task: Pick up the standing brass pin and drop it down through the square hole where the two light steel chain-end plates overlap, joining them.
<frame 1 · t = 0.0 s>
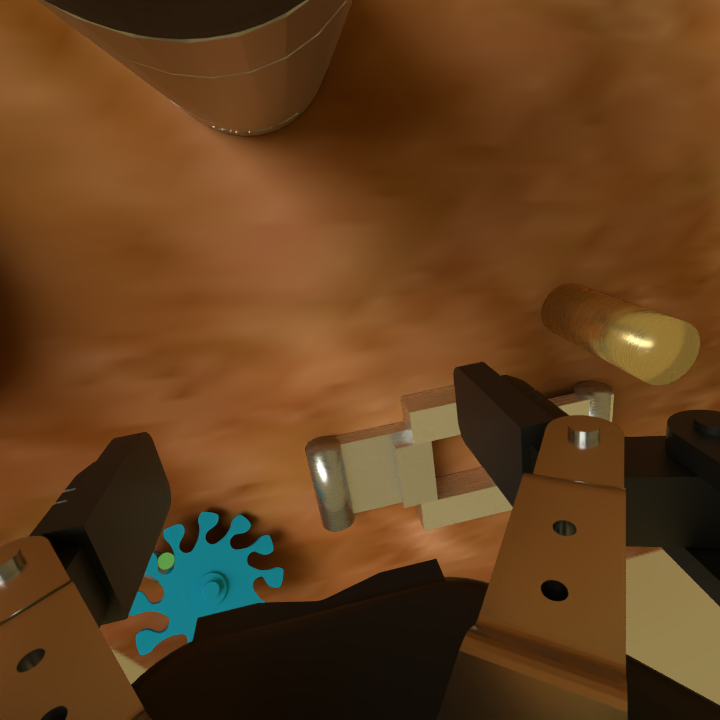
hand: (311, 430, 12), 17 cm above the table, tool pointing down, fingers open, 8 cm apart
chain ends: (456, 445, 34), on the table
gear: (210, 543, 34), on the table
pin: (565, 309, 31), on the table
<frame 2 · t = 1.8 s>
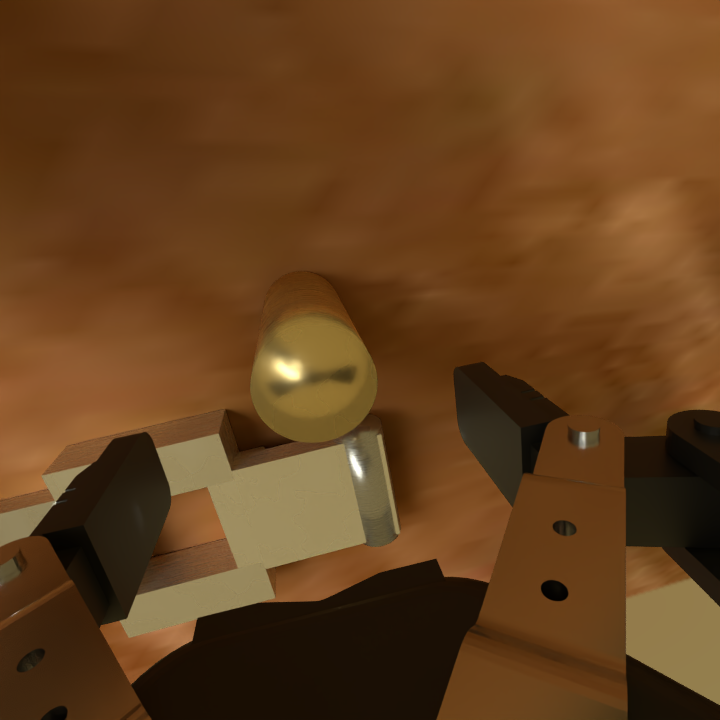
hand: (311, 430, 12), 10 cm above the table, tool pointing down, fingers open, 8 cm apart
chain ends: (181, 509, 23), on the table
pin: (302, 309, 21), on the table
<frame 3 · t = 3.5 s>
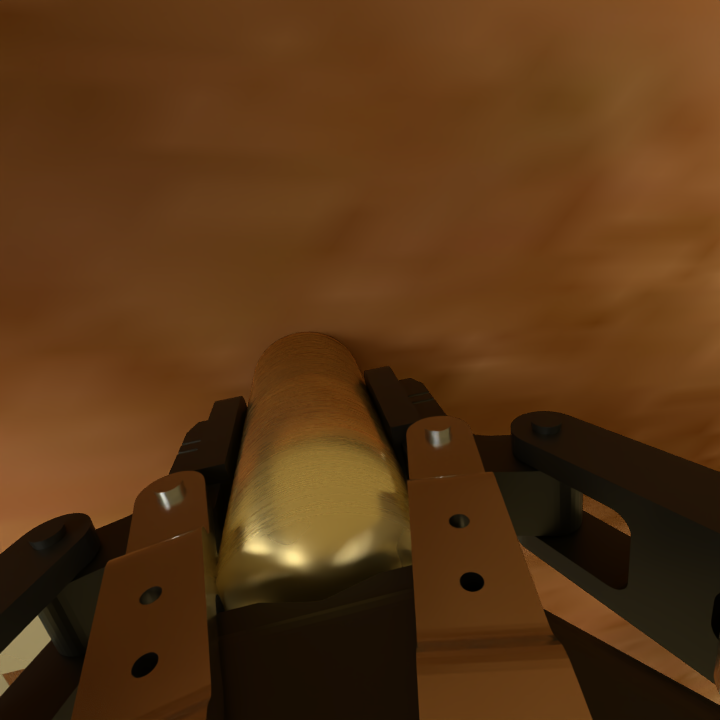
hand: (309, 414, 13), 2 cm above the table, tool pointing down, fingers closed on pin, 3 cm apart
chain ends: (135, 640, 17), on the table
pin: (307, 382, 15), on the table, touching gripper
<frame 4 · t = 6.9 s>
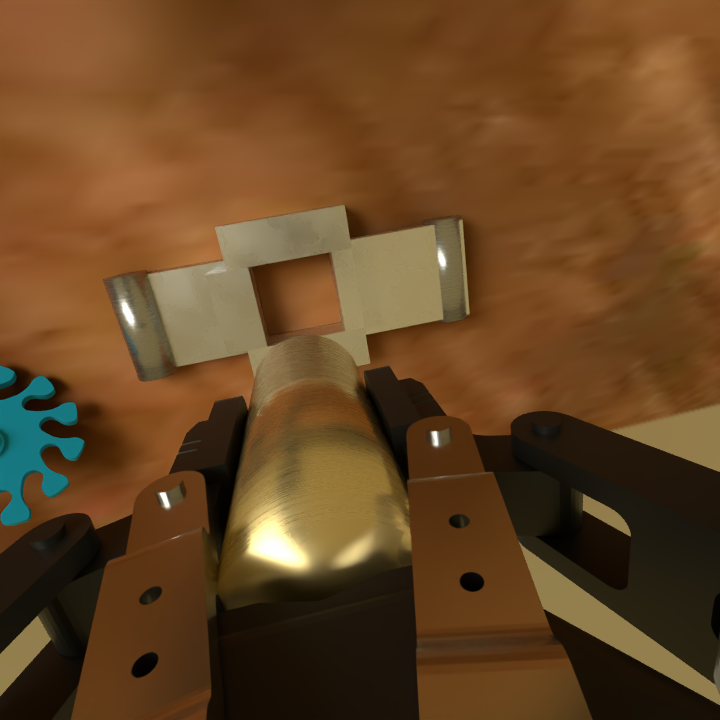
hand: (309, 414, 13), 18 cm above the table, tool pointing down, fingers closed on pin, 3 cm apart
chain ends: (297, 293, 30), on the table
gear: (13, 413, 30), on the table
pin: (308, 385, 15), point 16 cm above the table, touching gripper
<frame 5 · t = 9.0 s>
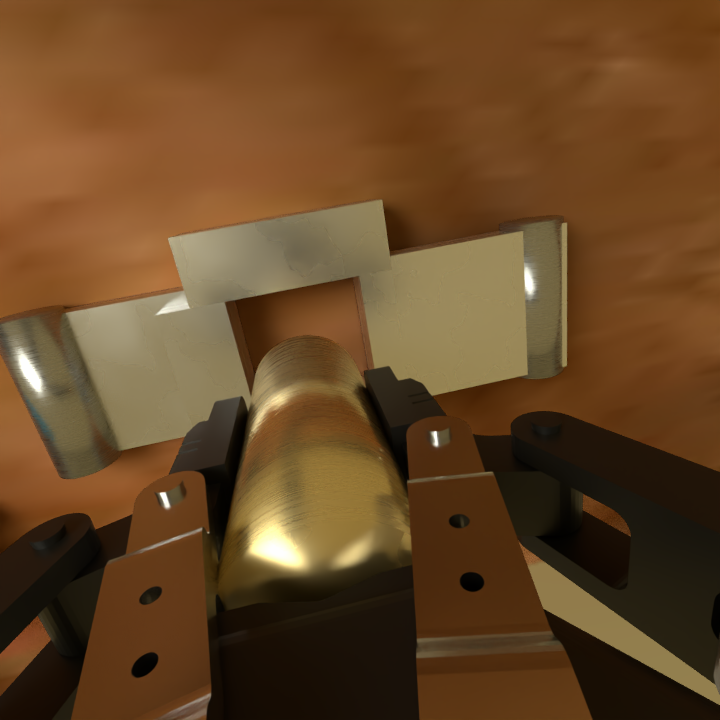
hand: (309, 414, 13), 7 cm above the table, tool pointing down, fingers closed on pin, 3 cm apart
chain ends: (304, 334, 20), on the table
pin: (308, 385, 15), point 5 cm above the table, touching gripper
when the fingers open (5 cm above the table, at t = 10.5 s): pin drops 3 cm, resting in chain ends.
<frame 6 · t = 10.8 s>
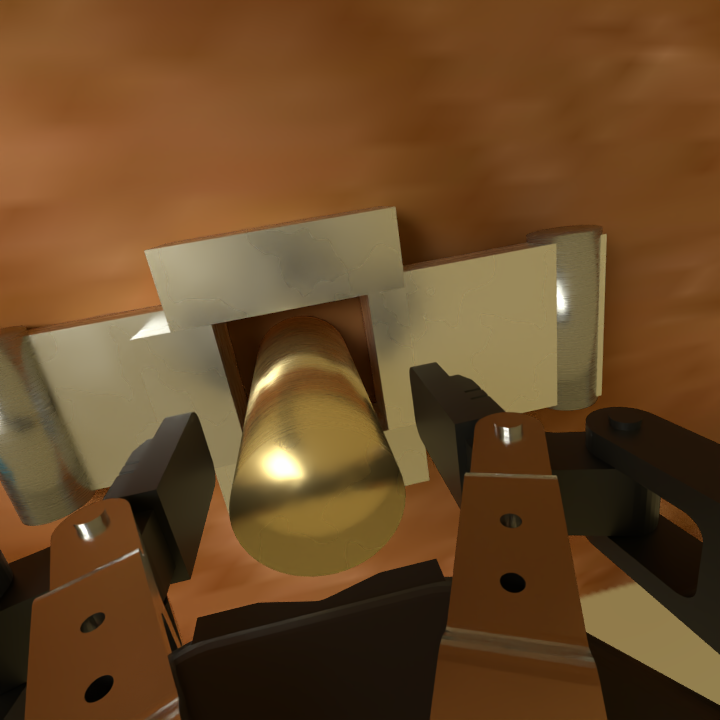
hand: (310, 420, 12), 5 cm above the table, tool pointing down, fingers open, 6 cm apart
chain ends: (304, 358, 17), on the table
pin: (303, 360, 17), resting in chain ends
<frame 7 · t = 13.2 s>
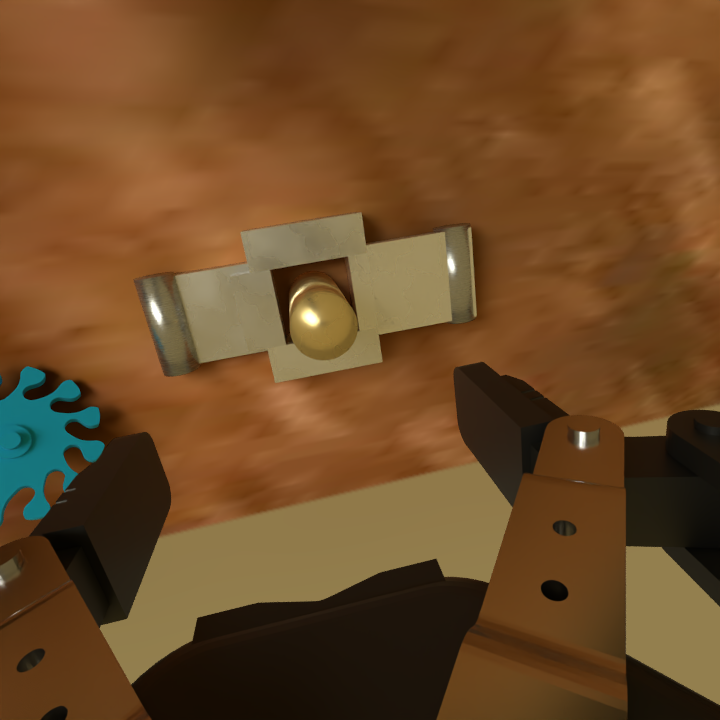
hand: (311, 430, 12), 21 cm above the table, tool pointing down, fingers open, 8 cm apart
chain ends: (314, 294, 31), on the table
gear: (37, 412, 31), on the table
pin: (314, 296, 31), resting in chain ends
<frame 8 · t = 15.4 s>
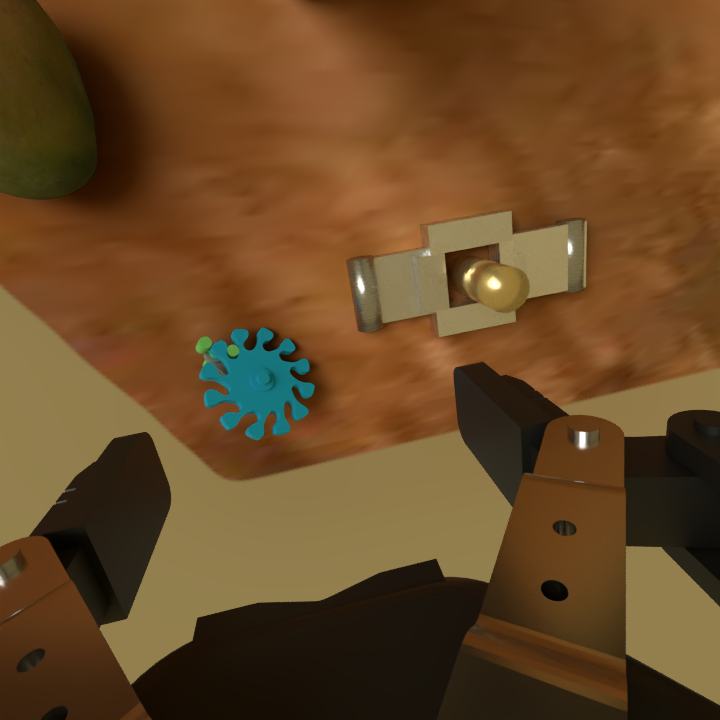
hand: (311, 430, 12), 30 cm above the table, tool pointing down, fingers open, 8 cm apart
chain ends: (464, 272, 42), on the table
gear: (257, 363, 42), on the table
pin: (463, 273, 42), resting in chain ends
fruit: (41, 109, 34), on the table
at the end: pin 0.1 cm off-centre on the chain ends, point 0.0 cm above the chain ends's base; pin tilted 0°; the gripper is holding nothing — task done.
